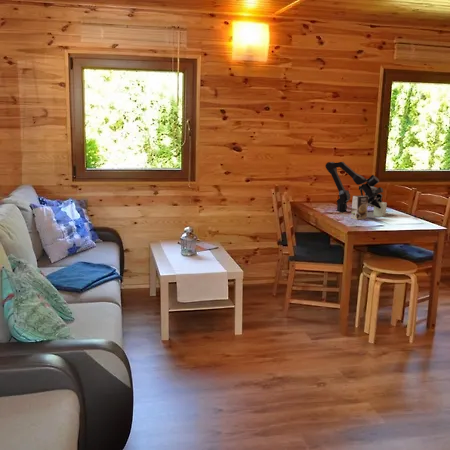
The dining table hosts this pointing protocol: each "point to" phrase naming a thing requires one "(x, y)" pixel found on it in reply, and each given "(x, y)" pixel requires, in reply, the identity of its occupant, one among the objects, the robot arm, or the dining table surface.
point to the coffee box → (359, 207)
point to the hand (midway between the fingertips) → (382, 207)
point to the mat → (370, 214)
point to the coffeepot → (368, 197)
